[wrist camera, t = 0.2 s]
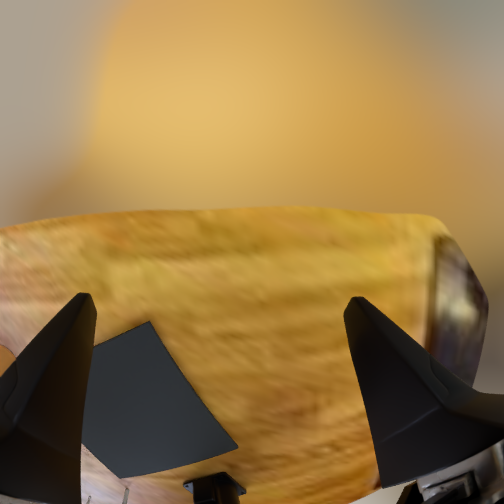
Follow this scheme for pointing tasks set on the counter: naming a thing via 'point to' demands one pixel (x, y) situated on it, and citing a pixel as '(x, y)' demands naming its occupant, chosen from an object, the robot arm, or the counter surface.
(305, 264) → the counter surface
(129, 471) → the mat
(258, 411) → the counter surface
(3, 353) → the jam jar
